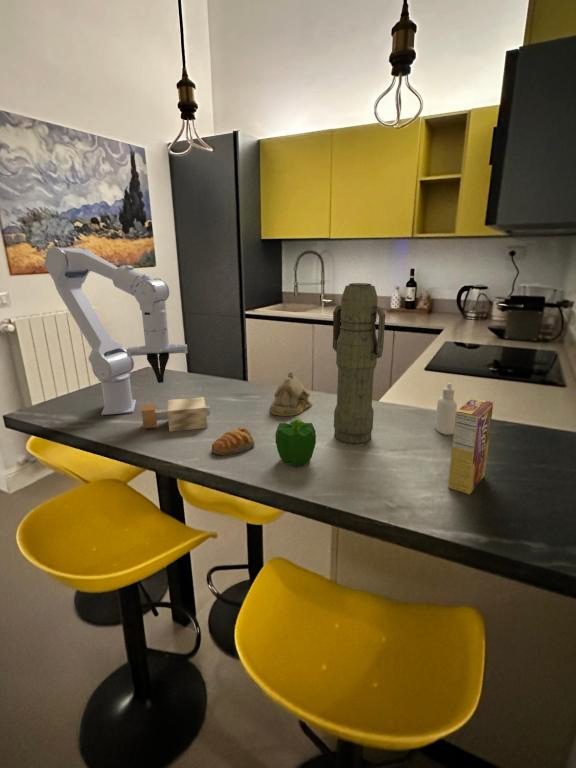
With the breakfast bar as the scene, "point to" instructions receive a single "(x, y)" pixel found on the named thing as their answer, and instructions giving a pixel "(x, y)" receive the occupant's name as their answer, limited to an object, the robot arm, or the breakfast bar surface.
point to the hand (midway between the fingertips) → (160, 381)
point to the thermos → (356, 361)
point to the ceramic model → (290, 397)
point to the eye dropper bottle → (446, 412)
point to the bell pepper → (295, 442)
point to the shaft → (157, 415)
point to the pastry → (233, 442)
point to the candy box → (470, 445)
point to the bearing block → (187, 414)
